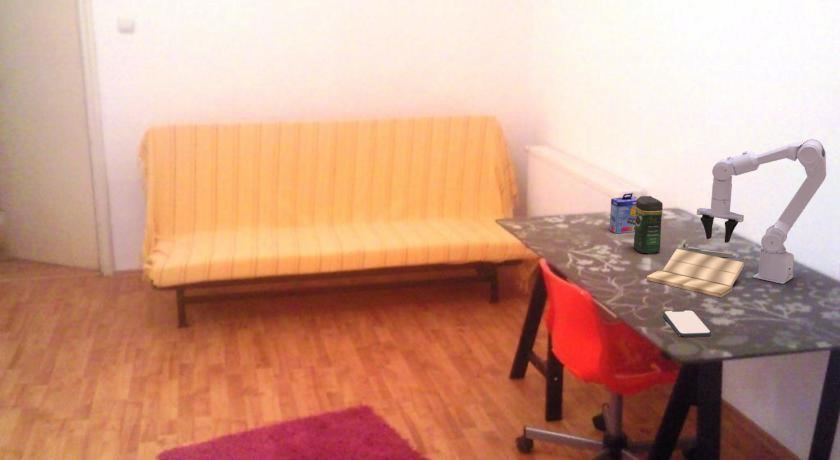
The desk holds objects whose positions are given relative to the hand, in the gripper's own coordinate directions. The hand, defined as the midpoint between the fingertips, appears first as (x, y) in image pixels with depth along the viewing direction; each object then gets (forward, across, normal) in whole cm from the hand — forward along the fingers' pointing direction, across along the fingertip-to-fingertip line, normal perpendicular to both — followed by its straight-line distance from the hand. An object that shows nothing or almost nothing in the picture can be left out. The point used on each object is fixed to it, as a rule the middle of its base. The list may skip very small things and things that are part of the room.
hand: (717, 240), depth 280 cm
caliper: (+10, +7, -9) cm, 15 cm away
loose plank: (+7, 0, +9) cm, 12 cm away
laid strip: (+10, 0, +18) cm, 21 cm away
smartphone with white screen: (+11, -14, +48) cm, 51 cm away
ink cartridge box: (+10, +45, -21) cm, 51 cm away
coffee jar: (+10, +27, -5) cm, 29 cm away
